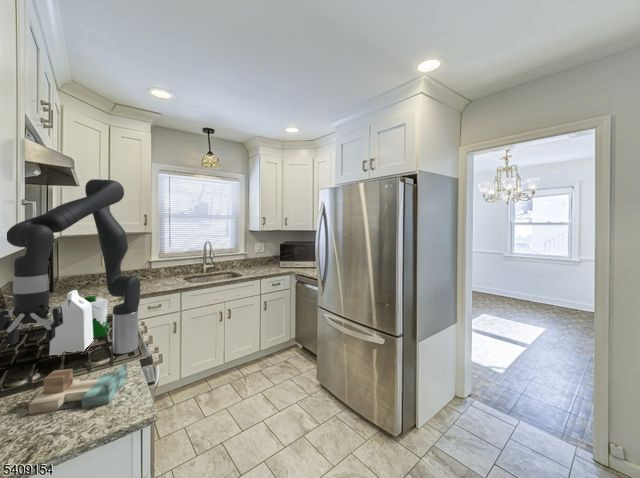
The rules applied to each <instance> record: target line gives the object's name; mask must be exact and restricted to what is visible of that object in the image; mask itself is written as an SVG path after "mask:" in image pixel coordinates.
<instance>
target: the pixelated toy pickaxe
mask: <svg viewBox="0 0 640 478" xmlns="http://www.w3.org/2000/svg"><path fill="white" fill-rule="evenodd" d="M127 368H128V364H127V363H123V364H122V365H121V366H120V368H119V369H118V370H117V371H116V372H110V373H103V374H102V375H101V376H100V378H97V379H88V380H85V375H79V376H73V384H72V385H71V386H69V387H68V388H67V389H66V390H65V391H64V392H61V393H52V394H44V391H42V393H40V394H38V396H37V397H35V398H34V399H33V400H32V401H30V402H29V403H28V414H29V415H30V414H39V413H47V412H48V413H49V412H54V411H55V412H56V411H64V410H72V409H78V408H87V407H96V406H103V405H109V404H110V403H111V401H112V400H113V398H114V397H115V396H116V395H117V393H118V392H119V390H121V388H122V387H123V385H125V382H126V381H127V380H128V375H127V374H128V373H127V372H128V369H127Z"/></svg>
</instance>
